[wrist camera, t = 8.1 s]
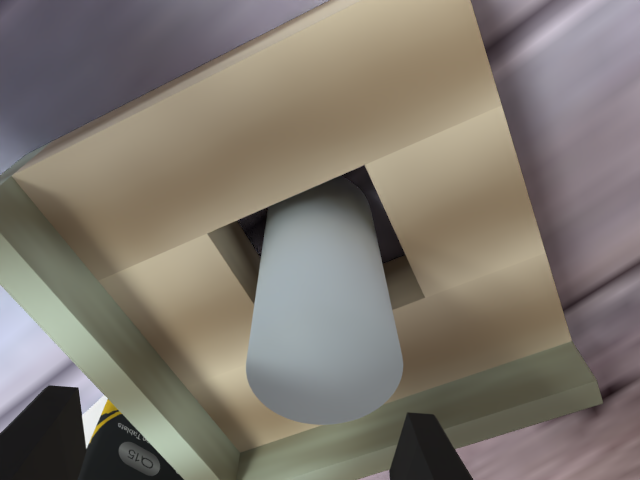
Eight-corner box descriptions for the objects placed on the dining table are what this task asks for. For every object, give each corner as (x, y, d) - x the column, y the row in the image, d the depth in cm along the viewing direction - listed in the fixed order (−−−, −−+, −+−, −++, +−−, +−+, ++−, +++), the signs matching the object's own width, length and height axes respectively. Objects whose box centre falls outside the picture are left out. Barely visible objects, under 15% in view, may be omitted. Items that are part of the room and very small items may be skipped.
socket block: (24, 155, 19) (-59, 222, 15) (432, -52, 16) (478, -44, 12) (237, 422, 26) (223, 520, 22) (548, 313, 23) (603, 403, 19)
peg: (273, 165, 19) (253, 299, 13) (381, 180, 20) (420, 318, 13) (261, 257, 21) (239, 417, 15) (360, 269, 22) (384, 431, 15)
